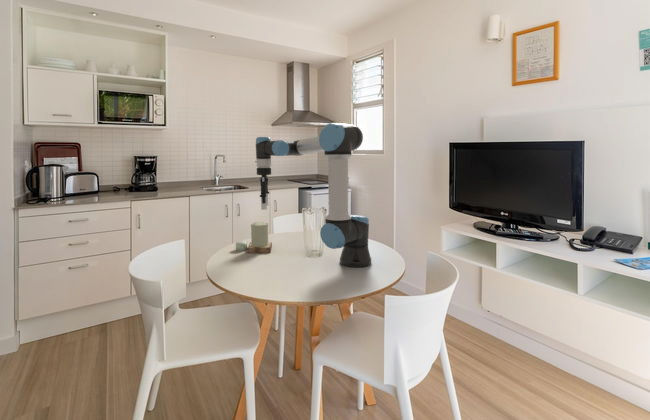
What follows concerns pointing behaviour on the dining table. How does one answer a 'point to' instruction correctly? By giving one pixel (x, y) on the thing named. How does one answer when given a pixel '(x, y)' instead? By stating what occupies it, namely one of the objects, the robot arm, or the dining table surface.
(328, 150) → the robot arm
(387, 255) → the dining table surface
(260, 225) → the can
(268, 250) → the stand
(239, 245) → the pale green rounded block
